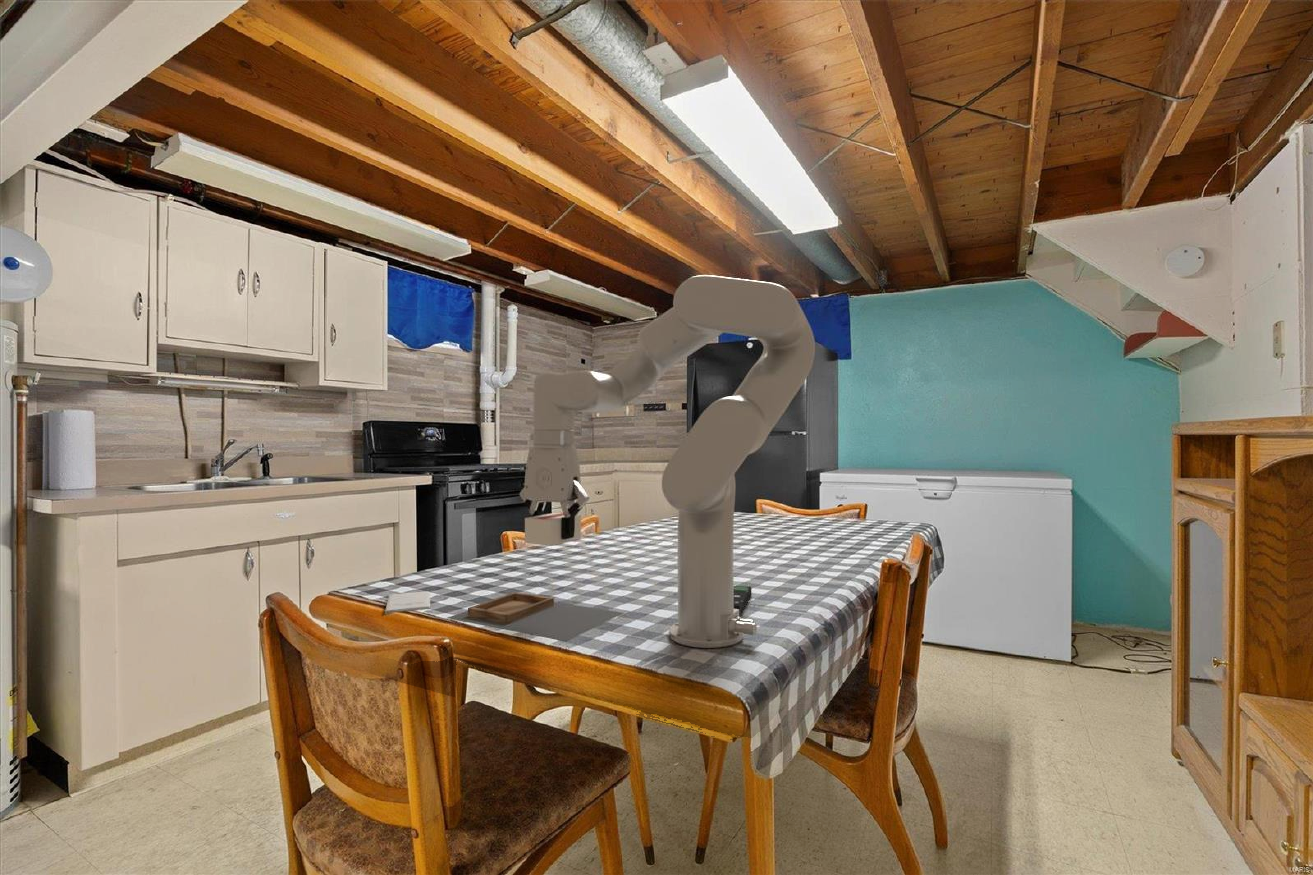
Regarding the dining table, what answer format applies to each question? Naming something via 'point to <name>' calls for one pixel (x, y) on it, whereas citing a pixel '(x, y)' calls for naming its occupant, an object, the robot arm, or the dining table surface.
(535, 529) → the block
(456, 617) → the mat
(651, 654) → the dining table surface
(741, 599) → the disk drive
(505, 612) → the tray
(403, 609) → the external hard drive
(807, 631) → the dining table surface
